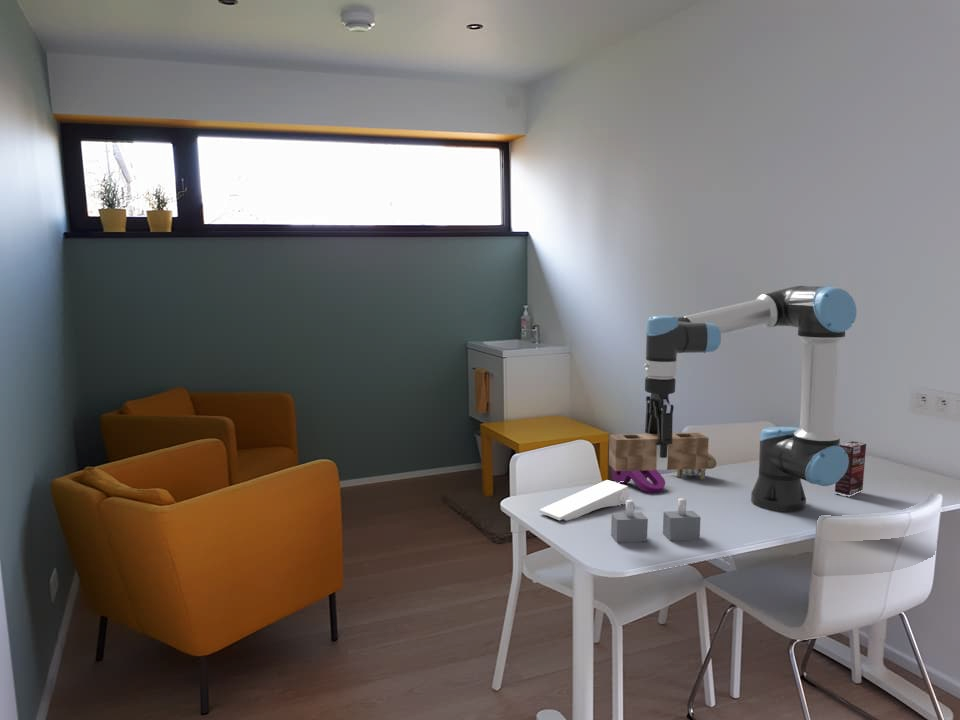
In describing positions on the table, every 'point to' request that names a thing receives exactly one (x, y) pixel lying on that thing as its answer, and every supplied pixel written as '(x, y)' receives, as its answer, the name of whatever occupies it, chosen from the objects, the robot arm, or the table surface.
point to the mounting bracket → (641, 479)
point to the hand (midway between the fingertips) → (656, 465)
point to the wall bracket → (588, 501)
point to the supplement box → (852, 469)
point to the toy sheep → (691, 472)
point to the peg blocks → (674, 524)
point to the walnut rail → (642, 448)
